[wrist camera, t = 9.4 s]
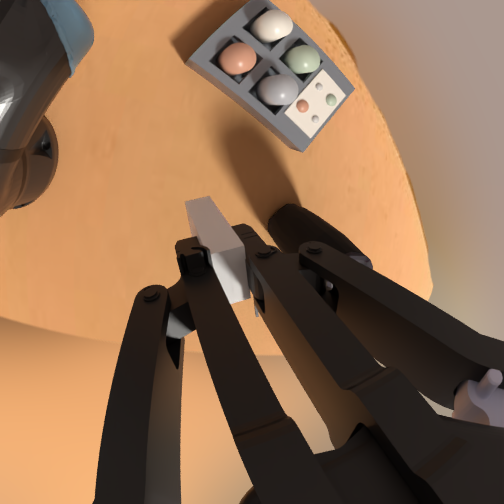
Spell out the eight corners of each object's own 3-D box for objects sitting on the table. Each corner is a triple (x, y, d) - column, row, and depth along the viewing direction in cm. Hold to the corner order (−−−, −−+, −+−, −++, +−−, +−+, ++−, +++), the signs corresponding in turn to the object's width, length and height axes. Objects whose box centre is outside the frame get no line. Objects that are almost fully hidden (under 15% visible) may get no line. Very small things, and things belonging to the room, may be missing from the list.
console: (184, 63, 32) (189, 58, 28) (248, 2, 29) (260, -9, 25) (289, 148, 44) (304, 153, 40) (338, 88, 41) (356, 88, 37)
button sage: (274, 61, 35) (287, 57, 31) (290, 44, 34) (305, 39, 30) (293, 79, 37) (308, 78, 33) (309, 62, 36) (325, 60, 32)
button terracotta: (209, 64, 32) (216, 58, 28) (228, 43, 31) (238, 36, 28) (232, 81, 34) (242, 78, 31) (251, 61, 34) (262, 56, 30)
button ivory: (243, 29, 29) (255, 21, 26) (262, 12, 29) (275, 4, 25) (266, 48, 32) (279, 42, 28) (284, 31, 31) (298, 24, 27)
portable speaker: (286, 252, 54) (343, 316, 38) (254, 226, 49) (310, 291, 33) (316, 219, 53) (383, 272, 37) (286, 190, 48) (357, 238, 32)
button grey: (249, 91, 35) (261, 90, 31) (268, 71, 34) (282, 67, 30) (271, 110, 37) (285, 111, 33) (289, 90, 36) (304, 89, 32)
